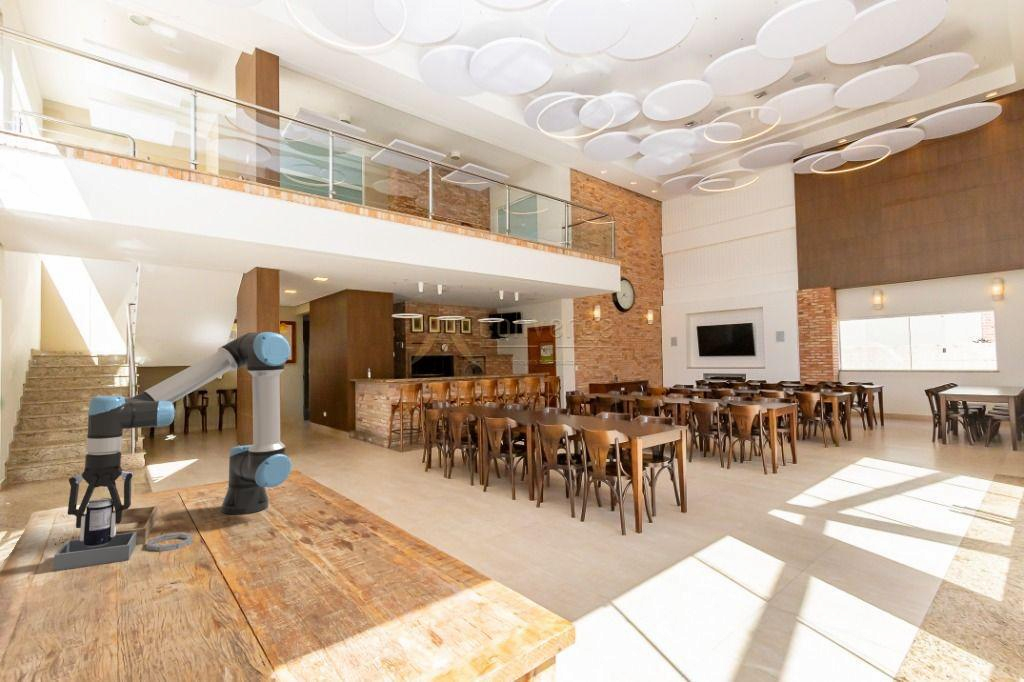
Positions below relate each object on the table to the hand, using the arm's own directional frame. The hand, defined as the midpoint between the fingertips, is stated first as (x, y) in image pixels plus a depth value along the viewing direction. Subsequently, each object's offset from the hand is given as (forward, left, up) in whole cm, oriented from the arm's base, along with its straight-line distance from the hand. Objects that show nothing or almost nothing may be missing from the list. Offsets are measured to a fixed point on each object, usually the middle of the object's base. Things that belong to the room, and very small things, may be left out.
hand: (98, 537), depth 131 cm
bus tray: (0, 0, -5) cm, 5 cm away
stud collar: (-16, -4, -6) cm, 17 cm away
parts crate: (-3, -19, -6) cm, 20 cm away
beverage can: (0, 0, -2) cm, 2 cm away
